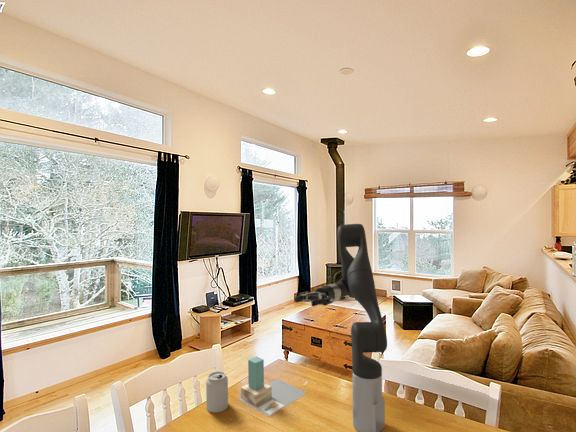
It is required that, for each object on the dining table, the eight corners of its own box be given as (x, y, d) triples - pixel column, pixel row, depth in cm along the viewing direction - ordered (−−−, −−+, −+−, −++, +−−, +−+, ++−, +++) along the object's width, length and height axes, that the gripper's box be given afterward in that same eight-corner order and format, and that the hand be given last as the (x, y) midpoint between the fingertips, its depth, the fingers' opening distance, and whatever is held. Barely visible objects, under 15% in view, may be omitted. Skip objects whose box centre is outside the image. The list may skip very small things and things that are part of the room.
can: (225, 415, 115) (225, 380, 115) (204, 415, 115) (203, 380, 115) (230, 402, 122) (229, 369, 122) (209, 402, 122) (209, 369, 122)
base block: (271, 397, 124) (271, 386, 124) (255, 406, 118) (255, 395, 118) (257, 389, 130) (257, 379, 130) (241, 397, 124) (240, 387, 124)
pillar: (263, 386, 124) (263, 359, 124) (255, 390, 121) (255, 363, 121) (256, 382, 127) (256, 356, 127) (248, 386, 124) (248, 359, 124)
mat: (307, 394, 127) (307, 392, 127) (269, 419, 112) (269, 416, 112) (277, 380, 138) (277, 378, 138) (238, 401, 123) (238, 398, 123)
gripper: (315, 282, 148) (290, 289, 136) (342, 287, 138) (317, 295, 126) (315, 299, 148) (290, 307, 136) (342, 305, 138) (318, 314, 127)
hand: (303, 301), depth 131 cm, fingers open, 8 cm apart
